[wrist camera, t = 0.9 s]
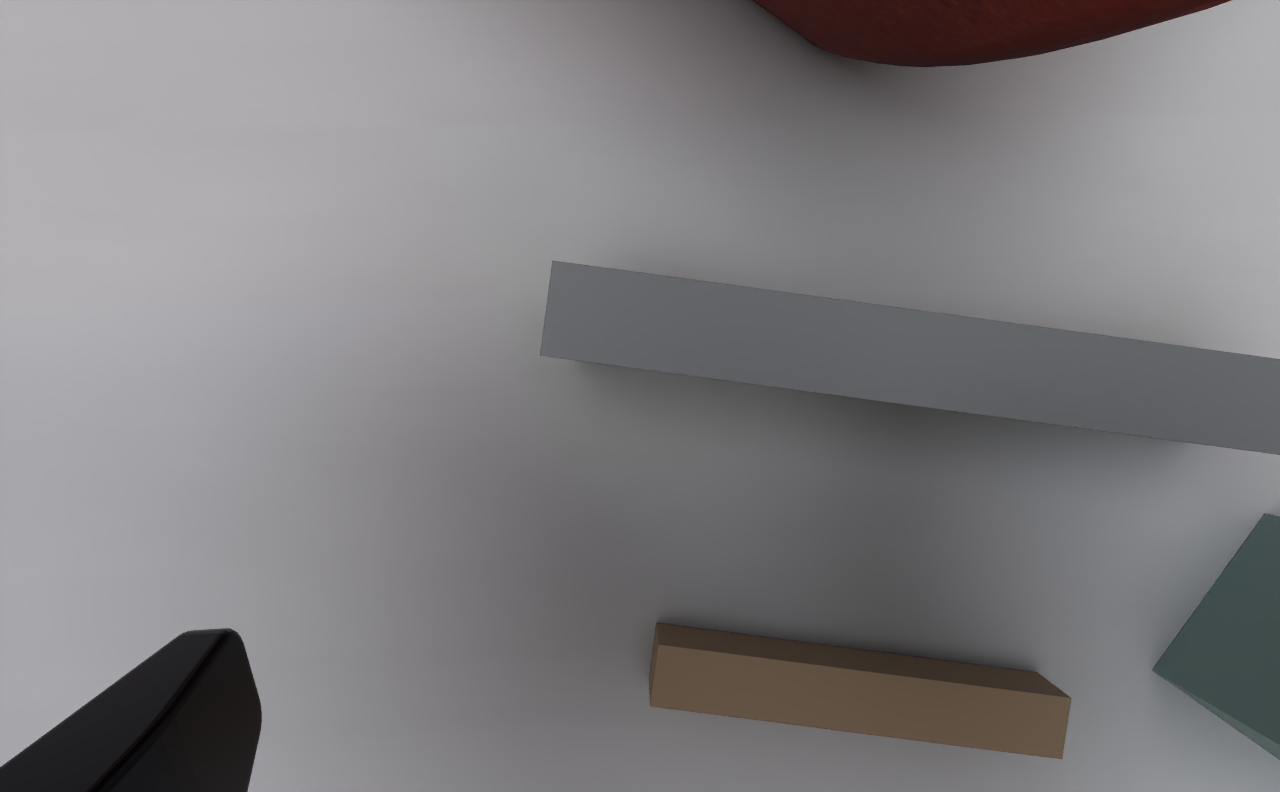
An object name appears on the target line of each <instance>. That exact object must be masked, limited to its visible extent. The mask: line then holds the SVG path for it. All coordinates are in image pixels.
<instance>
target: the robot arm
mask: <svg viewBox="0 0 1280 792" xmlns="http://www.w3.org/2000/svg"><path fill="white" fill-rule="evenodd" d="M261 722H262V711H261V703H260V699H259V695H258V692H257V688H256V685H255V681H254V678H253V674H252V671H251V667H250V664H249V660H248V657H247V653H246V650H245V646H244V643H243V641H242V639H241V637H240V635H239V634H238V633H237V632H236V631H234V630H232V629H229V628H224V629H207V630H193V631H187V632H185V633H182V634H181V635H179V636H178V637H176V638H175V639H173V640H172V641H171V642H169V643H168V644H167V645H165V646H164V647H163V648H161V649H160V650H159V651H157V652H156V653H155V654H153V655H152V656H150V657H149V658H148V659H146V660H145V661H144V662H142V663H141V664H140V665H138V666H137V667H136V668H134V669H133V670H131V671H130V672H129V673H127V674H126V675H125V676H123V677H122V678H121V679H119V680H118V681H117V682H115V683H114V684H113V685H111V686H110V687H108V688H107V689H106V690H104V691H103V692H102V693H100V694H99V695H98V696H96V697H95V698H94V699H92V700H91V701H89V702H88V703H87V704H85V705H84V706H83V707H81V708H80V709H79V710H77V711H76V712H75V713H73V714H72V715H71V716H69V717H68V718H66V719H65V720H64V721H62V722H61V723H60V724H58V725H57V726H56V727H54V728H53V729H52V730H50V731H49V732H47V733H46V734H45V735H43V736H42V737H41V738H39V739H38V740H37V741H35V742H34V743H33V744H31V745H30V746H29V747H27V748H26V749H24V750H23V751H22V752H20V753H19V754H18V755H16V756H15V757H14V758H12V759H11V760H10V761H8V762H7V763H5V764H4V765H3V766H1V767H0V792H247V791H248V786H249V782H250V777H251V773H252V768H253V763H254V759H255V754H256V750H257V745H258V741H259V736H260V731H261Z"/></svg>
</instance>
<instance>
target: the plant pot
mask: <svg viewBox="0 0 1280 792" xmlns="http://www.w3.org/2000/svg"><path fill="white" fill-rule="evenodd" d="M754 1H756V2H757V3H758V4H760V5H761V6H763V7H764V8H765V9H767V10H768V11H770V12H771V13H772V14H774V15H775V16H776V17H778V18H779V19H780V20H782V21H783V22H784V23H786V24H787V25H788V26H790V27H791V28H793V29H794V30H795V31H797V32H798V33H799V34H801V35H802V36H803V37H805V38H806V39H807V40H809V41H810V42H811V43H813V44H814V45H816V46H818V47H820V48H823V49H825V50H827V51H829V52H832V53H835V54H838V55H841V56H844V57H848V58H853V59H859V60H864V61H869V62H874V63H880V64H888V65H896V66H912V67H935V66H958V65H972V64H979V63H986V62H993V61H1000V60H1008V59H1015V58H1022V57H1027V56H1033V55H1038V54H1043V53H1048V52H1052V51H1056V50H1060V49H1064V48H1069V47H1073V46H1077V45H1081V44H1086V43H1090V42H1094V41H1098V40H1102V39H1106V38H1109V37H1113V36H1116V35H1119V34H1123V33H1126V32H1130V31H1133V30H1137V29H1140V28H1143V27H1147V26H1150V25H1154V24H1157V23H1161V22H1164V21H1168V20H1171V19H1174V18H1178V17H1181V16H1185V15H1188V14H1191V13H1195V12H1198V11H1202V10H1205V9H1208V8H1211V7H1214V6H1217V5H1220V4H1222V3H1225V2H1228V1H1231V0H754Z"/></svg>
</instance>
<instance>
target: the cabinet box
mask: <svg viewBox="0 0 1280 792" xmlns="http://www.w3.org/2000/svg"><path fill="white" fill-rule="evenodd" d="M1153 671H1154V672H1156V673H1157V674H1158V675H1160V676H1161V677H1163V678H1164V679H1166V680H1167V681H1168V682H1170V683H1171V684H1173V685H1174V686H1176V687H1177V688H1178V689H1180V690H1181V691H1183V692H1184V693H1185V694H1187V695H1188V696H1190V697H1191V698H1193V699H1194V700H1195V701H1197V702H1198V703H1200V704H1201V705H1203V706H1204V707H1205V708H1207V709H1208V710H1210V711H1211V712H1213V713H1214V714H1215V715H1217V716H1218V717H1220V718H1221V719H1222V720H1224V721H1225V722H1227V723H1228V724H1230V725H1231V726H1232V727H1234V728H1235V729H1237V730H1238V731H1240V732H1241V733H1242V734H1244V735H1245V736H1247V737H1248V738H1249V739H1251V740H1252V741H1254V742H1255V743H1257V744H1258V745H1259V746H1261V747H1262V748H1264V749H1265V750H1267V751H1268V752H1269V753H1271V754H1272V755H1274V756H1275V757H1276V758H1278V759H1279V760H1280V517H1277V516H1273V515H1269V514H1264V515H1263V517H1262V518H1261V520H1260V521H1259V522H1258V524H1257V525H1256V527H1255V528H1254V529H1253V531H1252V532H1251V534H1250V535H1249V536H1248V538H1247V539H1246V540H1245V542H1244V543H1243V545H1242V546H1241V547H1240V549H1239V550H1238V552H1237V553H1236V554H1235V556H1234V557H1233V559H1232V560H1231V561H1230V563H1229V564H1228V566H1227V567H1226V568H1225V570H1224V571H1223V572H1222V574H1221V575H1220V577H1219V578H1218V579H1217V581H1216V582H1215V584H1214V585H1213V586H1212V588H1211V589H1210V591H1209V592H1208V593H1207V595H1206V596H1205V597H1204V599H1203V600H1202V602H1201V603H1200V604H1199V606H1198V607H1197V609H1196V610H1195V611H1194V613H1193V614H1192V616H1191V617H1190V618H1189V620H1188V621H1187V622H1186V624H1185V625H1184V627H1183V628H1182V629H1181V631H1180V632H1179V634H1178V635H1177V636H1176V638H1175V639H1174V641H1173V642H1172V643H1171V645H1170V646H1169V648H1168V649H1167V650H1166V652H1165V653H1164V654H1163V656H1162V657H1161V659H1160V660H1159V661H1158V663H1157V664H1156V666H1155V667H1154V668H1153Z"/></svg>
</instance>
